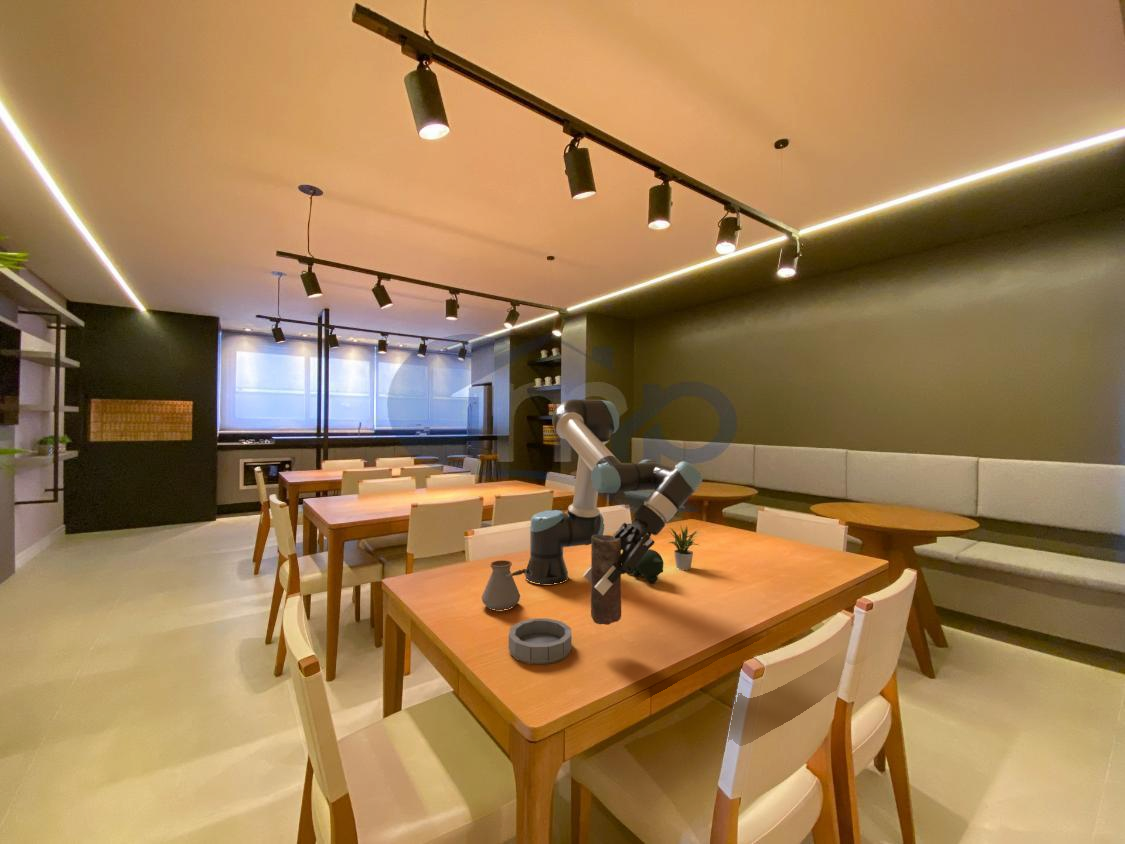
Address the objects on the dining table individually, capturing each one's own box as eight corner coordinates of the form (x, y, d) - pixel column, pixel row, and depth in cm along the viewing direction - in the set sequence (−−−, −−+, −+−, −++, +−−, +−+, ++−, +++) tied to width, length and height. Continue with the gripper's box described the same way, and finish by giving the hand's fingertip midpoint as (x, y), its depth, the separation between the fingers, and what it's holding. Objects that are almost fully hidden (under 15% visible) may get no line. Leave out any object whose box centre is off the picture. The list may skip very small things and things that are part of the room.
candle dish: (496, 654, 105) (496, 637, 105) (530, 629, 118) (530, 614, 118) (551, 671, 98) (551, 652, 98) (581, 642, 111) (581, 626, 111)
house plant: (710, 575, 162) (710, 530, 163) (672, 575, 163) (672, 530, 163) (698, 563, 177) (698, 522, 177) (663, 563, 177) (663, 522, 177)
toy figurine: (614, 573, 169) (652, 589, 146) (612, 523, 171) (649, 531, 148) (635, 570, 173) (675, 586, 150) (633, 521, 174) (672, 528, 152)
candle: (588, 612, 111) (589, 532, 111) (617, 611, 112) (618, 532, 111) (593, 626, 103) (594, 541, 103) (624, 625, 104) (625, 540, 104)
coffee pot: (475, 604, 135) (475, 554, 135) (508, 596, 141) (508, 548, 142) (510, 630, 118) (510, 573, 118) (546, 619, 124) (546, 565, 125)
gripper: (685, 533, 102) (619, 612, 98) (645, 515, 121) (588, 580, 117) (665, 511, 101) (597, 590, 96) (627, 497, 120) (569, 561, 115)
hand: (592, 584), depth 106 cm, fingers closed on candle, 7 cm apart
